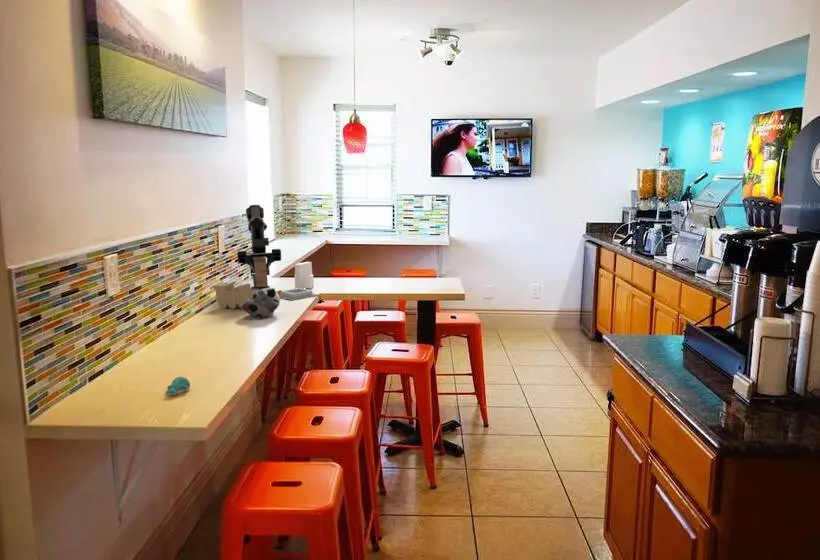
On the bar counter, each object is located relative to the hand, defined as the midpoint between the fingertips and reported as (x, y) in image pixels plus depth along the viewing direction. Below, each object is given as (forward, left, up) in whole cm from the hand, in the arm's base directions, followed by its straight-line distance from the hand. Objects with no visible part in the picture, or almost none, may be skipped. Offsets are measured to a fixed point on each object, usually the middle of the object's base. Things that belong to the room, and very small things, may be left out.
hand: (260, 271), depth 278 cm
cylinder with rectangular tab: (-7, +34, -14) cm, 37 cm away
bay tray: (+5, +16, -13) cm, 21 cm away
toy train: (-1, -14, -14) cm, 20 cm away
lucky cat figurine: (+21, -20, -14) cm, 33 cm away
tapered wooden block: (-1, +1, -7) cm, 7 cm away
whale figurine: (+68, -94, -14) cm, 117 cm away
